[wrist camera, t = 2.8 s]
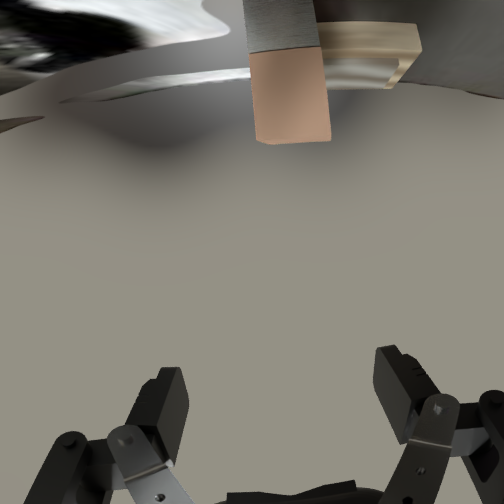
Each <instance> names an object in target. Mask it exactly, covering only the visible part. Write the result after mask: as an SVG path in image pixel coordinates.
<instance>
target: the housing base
mask: <svg viewBox="0 0 504 504" xmlns="http://www.w3.org/2000/svg"><path fill="white" fill-rule="evenodd" d="M243 6H244V17H245V27H246V37H247V47H248V54H254V53H261V52H269V51H277V50H286V49H297V48H309V47H320V41H319V35H318V29H317V23H316V17H315V11H314V6H313V1H312V0H243Z"/></svg>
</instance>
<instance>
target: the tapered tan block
mask: <svg viewBox="0 0 504 504" xmlns="http://www.w3.org/2000/svg"><path fill="white" fill-rule="evenodd" d="M249 63H250V74H251V85H252V95H253V106H254V117H255V129H256V140H257V141H260V142H263V143H266V144H269V145H273V144H286V143H299V142H318V141H331V127H330V117H329V107H328V98H327V89H326V81H325V73H324V66H323V58H322V51H321V47H309V48H297V49H286V50H277V51H269V52H261V53H254V54H249Z"/></svg>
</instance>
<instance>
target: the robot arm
mask: <svg viewBox="0 0 504 504" xmlns="http://www.w3.org/2000/svg"><path fill="white" fill-rule="evenodd" d="M373 384H374V389H375V392H376V394H377V396H378V398H379V401H380V403H381V405H382V407H383V409H384V411H385V413H386V415H387V418H388V420H389V422H390V424H391V426H392V428H393V430H394V433H395V435H396V437H397V440H398V442H399V444H400V445H401V444H405V443H407V445H406V448H405V450H404V452H403V455H402V457H401V459H400V461H399V463H398V465H397V468H396V470H395V472H394V474H393V476H392V478H391V480H390V482H389V484H388V486H387V488H386V489H385V491H384V492H382V491H379V490H375V489H370V488H359V487H356V484H355V480H350V481H345V482H339V483H334V484H328V485H323V486H320V487H317V488H314V489H311V490H309V491H305V492H302V493H299V494H296V495H279V494H271V493H264V492H241V493H240V492H238V493H237V492H236V493H227V500H226V501H223V502H219V503H216V504H434V502H435V499H436V497H437V494H438V491H439V488H440V485H441V483H442V480H443V476H444V474H445V470H446V467H447V464H448V461H449V457H456V456H461V458H462V460H463V462H464V464H465V466H466V468H467V470H468V473H469V475H470V477H471V479H472V481H473V483H474V485H475V487H476V490H477V492H478V494H479V496H480V499H481V501H482V503H483V504H504V392H502V391H499V390H489V391H486V392H485V393H483V394H482V395H481V397H480V399H479V402H476V403H462V404H460V403H459V402H458V400H457V399H456V398H455V397H453V396H451V395H448V394H441V393H440V391H439V390H438V388H437V387H436V386H435V384H434V383H433V381H432V380H431V379H430V377H429V376H428V374H426V372H425V371H424V369H423V368H422V366H421V365H420V364H419V362H418V361H417V359H415V358H413V357H412V356H410V355H408V354H403V355H402V354H401V352H400V351H399V350H398V348H397V347H396V346H395V345H389V346H384V347H378V348H377V350H376V355H375V364H374V374H373ZM188 409H189V398H188V393H187V390H186V386H185V382H184V379H183V375H182V371H181V369H180V367H162V368H161V369H160V371H159V373H158V376H157V378H156V379H150V380H149V381H147V382H146V383H145V384H144V385H143V386H142V388H141V390H140V392H139V396H138V397H137V399H136V403H134V405H133V407H132V410H131V412H130V414H129V416H128V418H127V420H126V423H125V425H123V426H119V427H117V428H115V429H113V430H112V431H111V432H110V433H109V435H108V437H107V438H106V439H100V440H91V441H87V439H86V437H85V435H83V434H82V433H80V432H76V431H70V432H66V433H64V434H62V435H60V436H59V437H58V438H57V439H56V441H55V443H54V444H53V446H52V448H51V450H50V452H49V454H48V456H47V457H46V459H45V461H44V463H43V465H42V467H41V469H40V471H39V473H38V475H37V477H36V479H35V481H34V483H33V485H32V487H31V489H30V491H29V493H28V495H27V497H26V499H25V501H24V504H110V501H111V497H112V494H113V491H114V490H119V489H128V490H129V492H130V494H131V496H132V498H133V499H134V501H135V503H136V504H195V503H194V502H193V500H192V499H191V498H190V496H189V495H188V494H187V493H186V491H185V490H184V489H183V487H182V486H181V485H180V483H179V482H178V480H177V479H176V478H175V476H174V475H173V474H172V472H171V471H170V469H169V468H168V467H167V466H170V467H174V465H175V462H176V458H177V454H178V449H179V445H180V441H181V437H182V433H183V429H184V425H185V421H186V418H187V414H188Z"/></svg>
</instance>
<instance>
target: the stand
mask: <svg viewBox="0 0 504 504" xmlns="http://www.w3.org/2000/svg"><path fill="white" fill-rule="evenodd" d="M317 29H318V35H319V41H320V47H321V51H322V58H323V66H324V73H325V81H326V89H327V90H340V89H341V90H342V89H386V88H387V89H392V88H393V87H394V85H395V84H396V83H397V82H398V80H399V79H400V78H401V77H402V76H403V74H404V73H405V72H406V71H407V69H408V68H409V67H410V66H411V64H412V63H413V62H414V61H415V59H416V58H417V57H418V56H419V54H420V53H421V52H422V47H421V42H420V38H419V34H418V29H417V25H416V24H411V23H397V22H369V21H349V22H321V23H317Z"/></svg>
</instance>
